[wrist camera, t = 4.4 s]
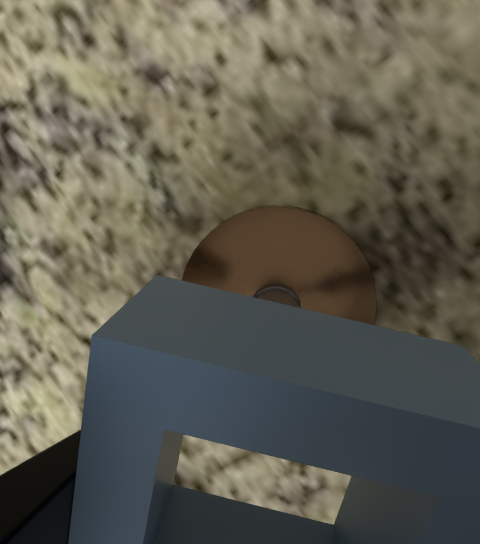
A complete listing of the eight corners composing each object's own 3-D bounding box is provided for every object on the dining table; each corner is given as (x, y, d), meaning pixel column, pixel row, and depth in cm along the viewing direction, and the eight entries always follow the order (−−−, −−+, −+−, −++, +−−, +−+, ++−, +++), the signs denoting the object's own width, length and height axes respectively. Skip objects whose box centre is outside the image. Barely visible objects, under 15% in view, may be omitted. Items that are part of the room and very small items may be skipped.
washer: (462, 345, 8) (563, 447, 5) (367, 573, 10) (404, 743, 7) (157, 274, 8) (91, 335, 5) (119, 510, 10) (56, 650, 7)
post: (397, 228, 18) (467, 269, 11) (342, 399, 20) (372, 517, 14) (201, 186, 18) (153, 202, 11) (172, 359, 21) (118, 455, 14)
